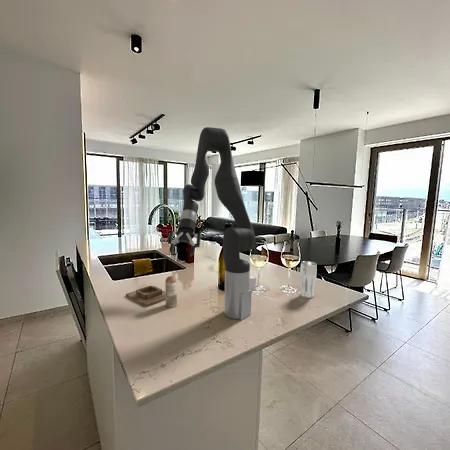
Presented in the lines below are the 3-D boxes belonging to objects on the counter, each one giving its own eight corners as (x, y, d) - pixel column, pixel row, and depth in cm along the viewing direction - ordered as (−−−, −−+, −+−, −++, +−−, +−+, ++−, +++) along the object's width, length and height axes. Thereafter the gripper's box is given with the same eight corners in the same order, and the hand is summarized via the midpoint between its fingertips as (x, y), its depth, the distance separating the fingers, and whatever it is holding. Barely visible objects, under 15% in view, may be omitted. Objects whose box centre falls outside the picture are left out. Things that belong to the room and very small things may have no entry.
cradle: (172, 297, 112) (172, 290, 112) (146, 307, 103) (146, 299, 102) (151, 288, 123) (151, 281, 122) (125, 296, 113) (125, 289, 113)
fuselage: (179, 305, 105) (178, 276, 103) (170, 308, 101) (169, 278, 100) (172, 302, 108) (171, 273, 106) (163, 305, 104) (163, 276, 103)
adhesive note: (255, 290, 122) (256, 278, 122) (244, 291, 120) (244, 279, 119) (250, 285, 128) (250, 274, 127) (239, 287, 126) (239, 275, 125)
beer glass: (314, 293, 119) (316, 261, 117) (315, 299, 112) (317, 266, 110) (298, 291, 121) (300, 260, 119) (298, 297, 114) (300, 264, 112)
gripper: (171, 216, 117) (163, 248, 109) (202, 219, 116) (196, 252, 108) (174, 224, 123) (166, 255, 116) (203, 227, 123) (198, 259, 115)
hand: (181, 254), depth 112 cm, fingers open, 8 cm apart
